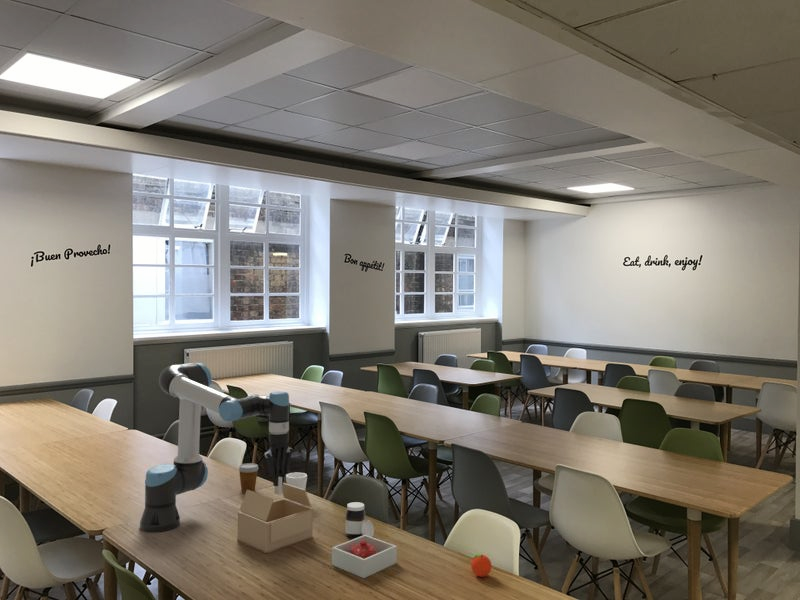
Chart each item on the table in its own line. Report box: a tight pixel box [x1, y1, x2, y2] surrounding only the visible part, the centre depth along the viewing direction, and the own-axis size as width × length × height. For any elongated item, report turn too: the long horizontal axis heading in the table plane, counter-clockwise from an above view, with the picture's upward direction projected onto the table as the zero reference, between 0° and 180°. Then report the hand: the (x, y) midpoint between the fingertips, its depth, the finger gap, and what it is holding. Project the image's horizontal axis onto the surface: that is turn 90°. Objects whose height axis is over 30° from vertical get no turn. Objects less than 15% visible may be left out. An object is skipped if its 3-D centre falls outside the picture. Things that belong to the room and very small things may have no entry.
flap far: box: [282, 482, 312, 508], centre depth 248 cm, size 8×16×1 cm
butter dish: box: [350, 540, 377, 559], centre depth 219 cm, size 12×12×8 cm
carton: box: [236, 498, 314, 554], centre depth 241 cm, size 22×19×11 cm
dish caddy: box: [331, 535, 398, 579], centre depth 220 cm, size 17×16×6 cm
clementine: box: [468, 553, 493, 578], centre depth 212 cm, size 8×7×7 cm
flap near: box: [238, 490, 275, 521], centre depth 234 cm, size 8×16×1 cm
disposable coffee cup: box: [238, 462, 259, 493], centre depth 301 cm, size 10×10×12 cm
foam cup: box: [285, 471, 308, 506], centre depth 282 cm, size 10×9×13 cm
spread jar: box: [345, 501, 375, 538], centre depth 246 cm, size 12×11×12 cm
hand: (278, 493), depth 240 cm, fingers closed
